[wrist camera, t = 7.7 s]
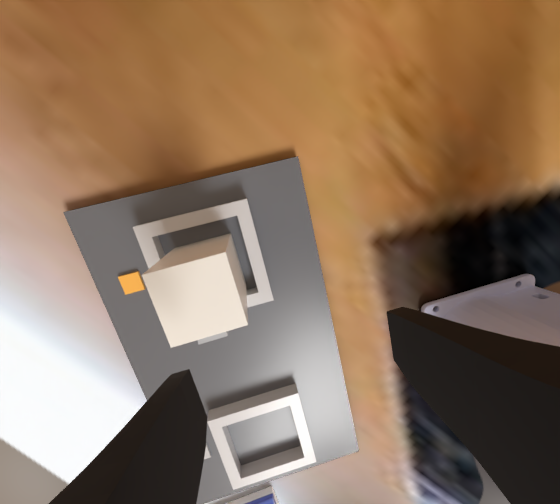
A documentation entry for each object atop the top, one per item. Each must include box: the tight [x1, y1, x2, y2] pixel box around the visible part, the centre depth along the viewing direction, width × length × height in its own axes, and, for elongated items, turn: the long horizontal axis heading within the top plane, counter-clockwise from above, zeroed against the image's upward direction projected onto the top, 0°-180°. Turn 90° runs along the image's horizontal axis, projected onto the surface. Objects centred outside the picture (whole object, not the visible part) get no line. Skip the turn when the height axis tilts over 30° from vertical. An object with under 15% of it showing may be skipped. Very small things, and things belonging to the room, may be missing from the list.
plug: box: [142, 233, 248, 348], centre depth 14 cm, size 4×4×6 cm
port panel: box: [64, 156, 359, 504], centre depth 18 cm, size 14×24×2 cm, turn 13°
